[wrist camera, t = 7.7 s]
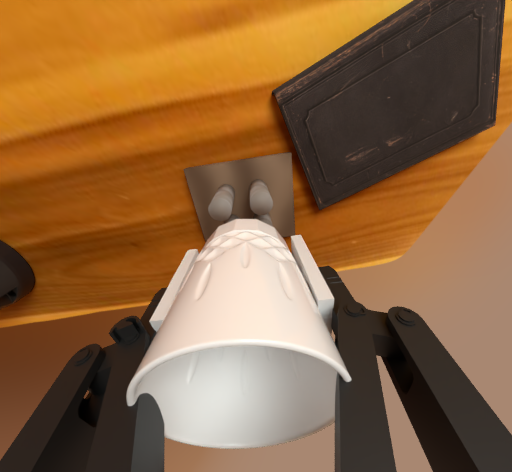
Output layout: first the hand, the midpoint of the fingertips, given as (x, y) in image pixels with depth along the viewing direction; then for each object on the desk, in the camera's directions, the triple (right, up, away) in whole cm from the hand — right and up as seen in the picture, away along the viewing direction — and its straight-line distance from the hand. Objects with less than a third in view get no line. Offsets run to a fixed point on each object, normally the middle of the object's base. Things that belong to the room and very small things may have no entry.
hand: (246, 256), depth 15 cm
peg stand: (-1, +7, +13) cm, 14 cm away
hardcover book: (+16, +18, +9) cm, 26 cm away
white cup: (0, 0, 0) cm, 0 cm away
